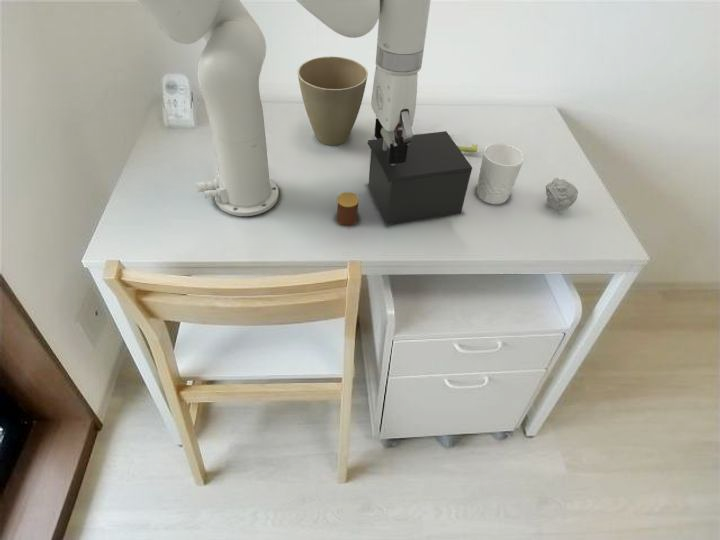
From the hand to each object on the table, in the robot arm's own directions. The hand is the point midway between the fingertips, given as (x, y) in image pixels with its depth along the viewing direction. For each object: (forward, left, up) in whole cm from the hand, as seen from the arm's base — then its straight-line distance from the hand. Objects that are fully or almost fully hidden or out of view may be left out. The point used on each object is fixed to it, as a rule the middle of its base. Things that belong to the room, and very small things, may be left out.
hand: (389, 148), depth 96 cm
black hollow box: (+6, 0, -13) cm, 15 cm away
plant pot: (-5, +26, -13) cm, 30 cm away
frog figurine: (+34, -9, -13) cm, 38 cm away
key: (+20, +15, -13) cm, 29 cm away
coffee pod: (-9, -3, -13) cm, 16 cm away
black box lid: (+6, 0, -3) cm, 7 cm away
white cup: (+23, -2, -13) cm, 27 cm away
